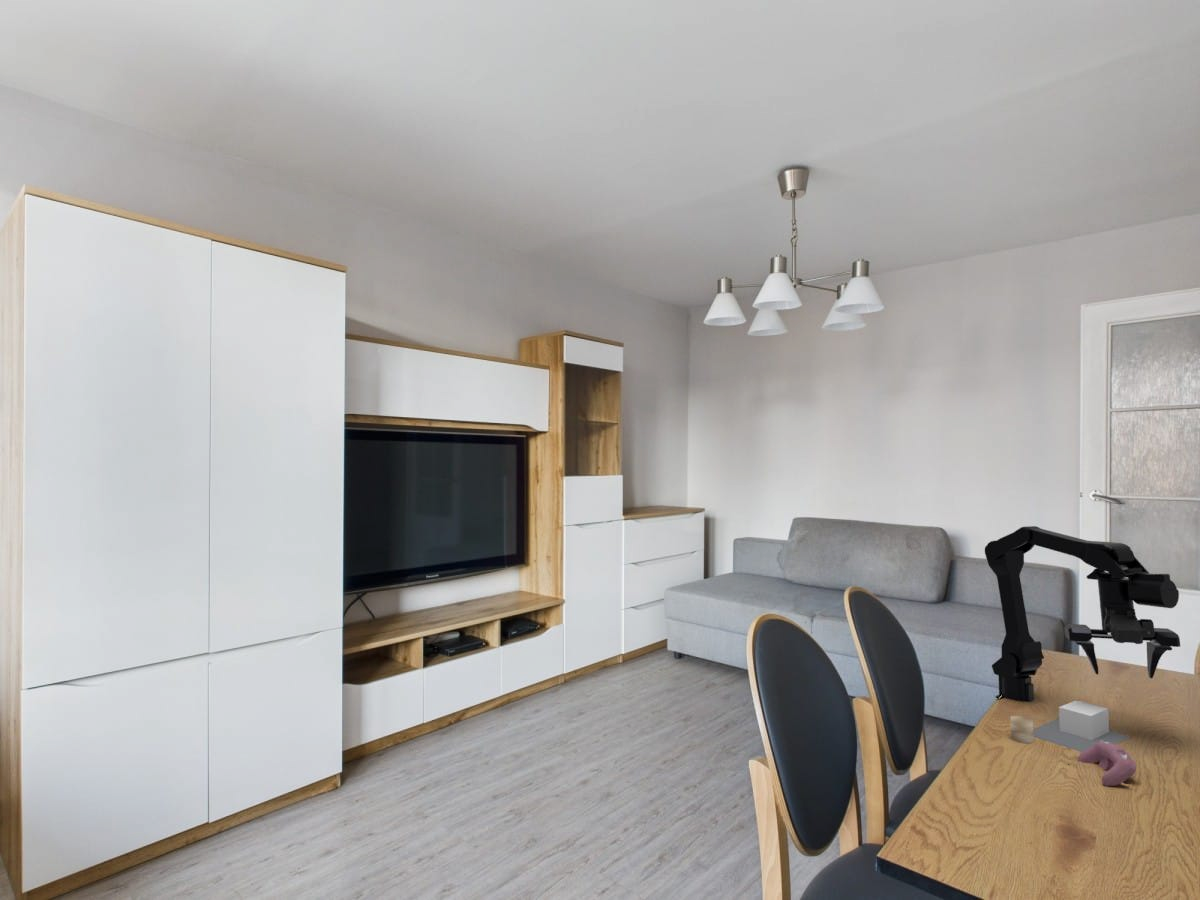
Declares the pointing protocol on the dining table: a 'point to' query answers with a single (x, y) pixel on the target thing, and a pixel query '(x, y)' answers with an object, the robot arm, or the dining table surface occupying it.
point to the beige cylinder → (1022, 729)
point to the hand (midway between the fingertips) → (1123, 675)
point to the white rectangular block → (1084, 719)
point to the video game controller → (1110, 762)
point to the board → (1073, 737)
